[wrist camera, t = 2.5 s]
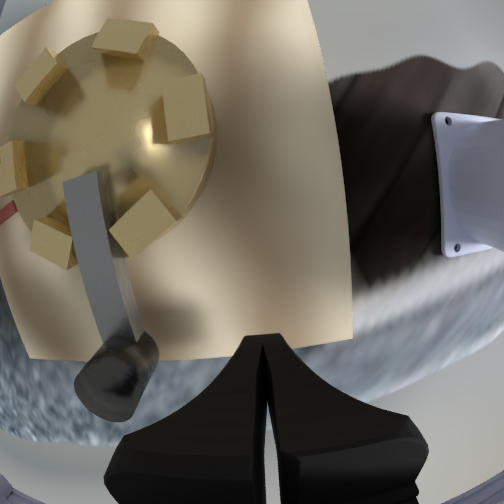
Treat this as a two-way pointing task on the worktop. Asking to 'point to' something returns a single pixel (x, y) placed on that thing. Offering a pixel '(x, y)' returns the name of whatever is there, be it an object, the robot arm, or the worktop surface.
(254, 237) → the base board
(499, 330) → the worktop surface
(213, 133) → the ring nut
